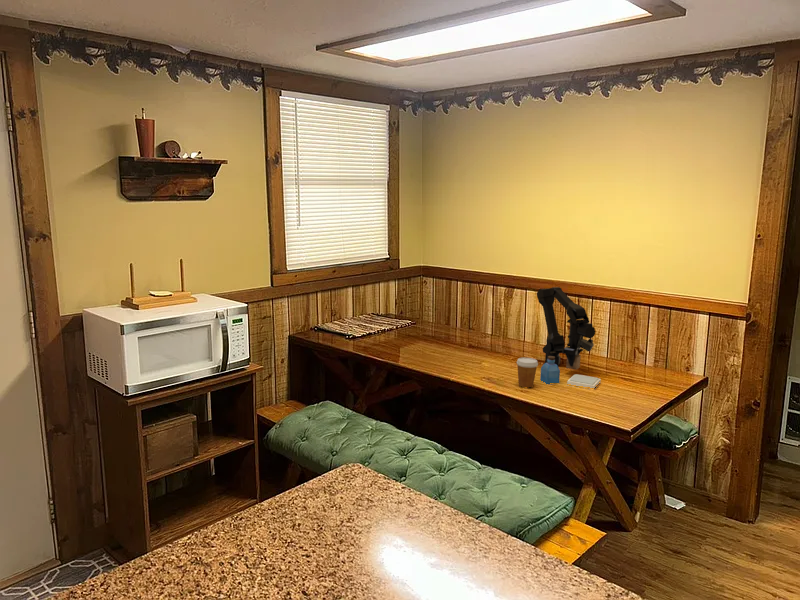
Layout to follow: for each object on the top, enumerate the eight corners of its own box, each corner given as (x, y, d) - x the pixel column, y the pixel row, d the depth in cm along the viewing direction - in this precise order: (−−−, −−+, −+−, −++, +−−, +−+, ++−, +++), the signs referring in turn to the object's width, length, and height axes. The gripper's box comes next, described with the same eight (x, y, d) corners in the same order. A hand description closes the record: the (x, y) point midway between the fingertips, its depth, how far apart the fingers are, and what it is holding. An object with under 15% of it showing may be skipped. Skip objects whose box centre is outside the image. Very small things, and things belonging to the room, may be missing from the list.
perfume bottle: (546, 384, 280) (548, 359, 278) (540, 380, 286) (541, 355, 284) (559, 383, 282) (560, 358, 280) (552, 379, 288) (553, 354, 286)
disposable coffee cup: (521, 381, 284) (523, 356, 282) (540, 385, 278) (542, 360, 276) (511, 386, 277) (512, 360, 275) (530, 390, 271) (532, 364, 269)
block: (566, 367, 296) (567, 355, 295) (569, 365, 300) (570, 353, 299) (576, 369, 293) (577, 357, 292) (579, 367, 298) (580, 355, 297)
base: (566, 385, 280) (567, 379, 280) (574, 378, 290) (574, 373, 290) (593, 390, 274) (594, 384, 273) (600, 383, 284) (600, 377, 283)
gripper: (587, 339, 282) (584, 372, 285) (597, 332, 297) (595, 363, 300) (563, 336, 287) (560, 368, 290) (574, 328, 303) (572, 359, 306)
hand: (573, 365), depth 297 cm, fingers closed on block, 5 cm apart
